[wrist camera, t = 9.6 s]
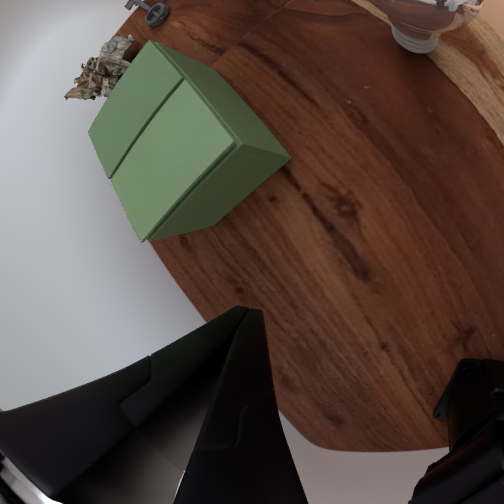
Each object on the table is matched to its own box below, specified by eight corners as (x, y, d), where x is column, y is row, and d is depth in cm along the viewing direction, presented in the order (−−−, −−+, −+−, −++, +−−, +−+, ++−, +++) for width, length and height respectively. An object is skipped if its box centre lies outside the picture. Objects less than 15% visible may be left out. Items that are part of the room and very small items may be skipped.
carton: (292, 158, 19) (235, 141, 12) (213, 226, 23) (140, 244, 16) (216, 70, 20) (149, 38, 13) (157, 138, 24) (87, 132, 17)
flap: (237, 142, 12) (234, 141, 12) (144, 242, 17) (140, 242, 16) (188, 80, 13) (185, 79, 13) (113, 180, 17) (110, 180, 17)
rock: (89, 51, 27) (68, 49, 24) (148, 31, 21) (122, 25, 18) (79, 101, 31) (58, 102, 28) (133, 98, 25) (105, 97, 22)
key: (157, 31, 22) (174, 9, 20) (150, 29, 21) (168, 6, 19) (126, 7, 23) (140, -11, 22) (121, 5, 23) (135, -13, 21)
